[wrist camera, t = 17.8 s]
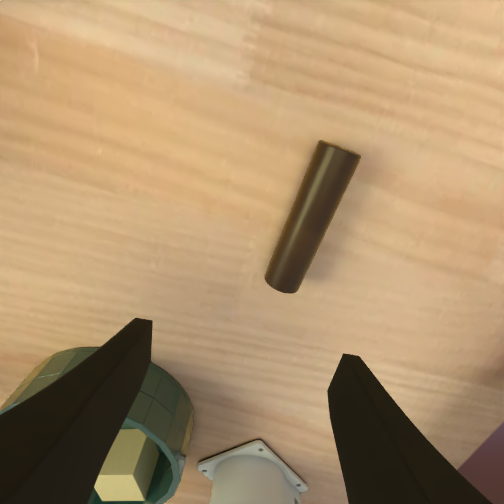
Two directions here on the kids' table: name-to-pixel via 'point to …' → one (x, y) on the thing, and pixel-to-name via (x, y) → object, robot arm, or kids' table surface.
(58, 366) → the bowl
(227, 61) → the kids' table surface
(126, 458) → the cream block
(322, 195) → the dark brown cylinder
